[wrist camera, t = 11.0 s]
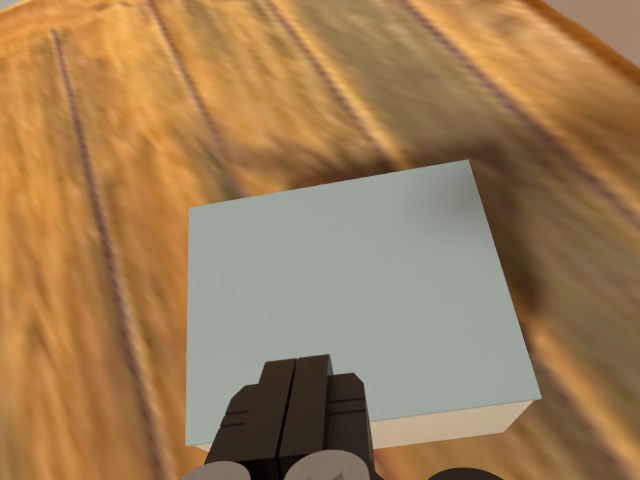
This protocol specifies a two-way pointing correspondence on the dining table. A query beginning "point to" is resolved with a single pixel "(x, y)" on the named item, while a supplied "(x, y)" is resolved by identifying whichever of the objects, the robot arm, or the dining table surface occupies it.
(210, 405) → the lid
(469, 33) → the dining table surface
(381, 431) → the storage box
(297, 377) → the robot arm
